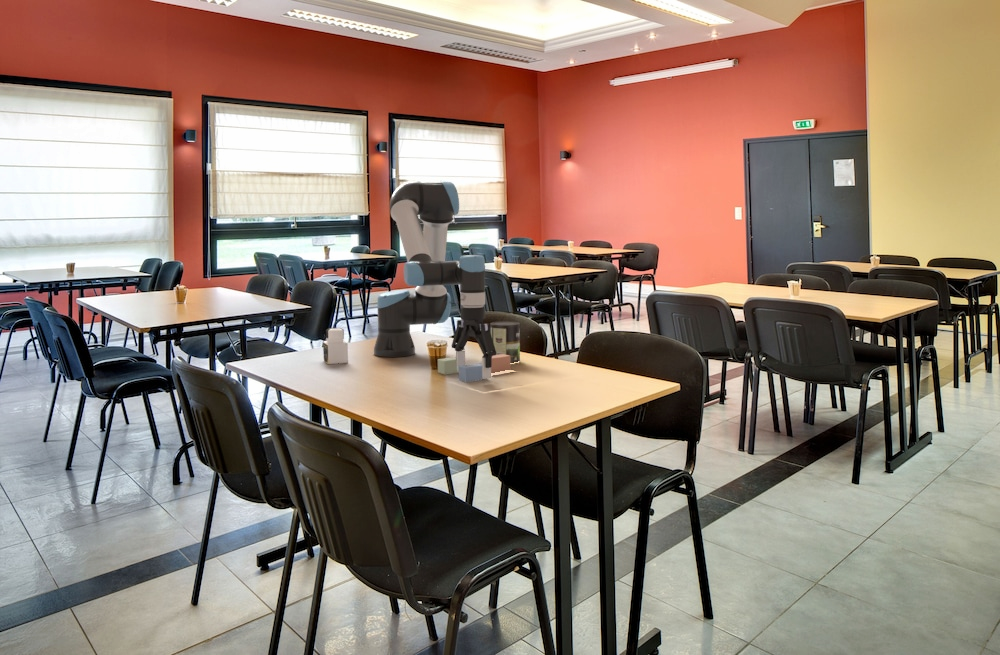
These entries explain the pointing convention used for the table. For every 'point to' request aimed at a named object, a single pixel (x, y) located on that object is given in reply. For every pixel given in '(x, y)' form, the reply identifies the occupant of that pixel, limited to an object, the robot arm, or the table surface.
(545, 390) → the table surface
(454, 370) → the green brick
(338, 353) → the medicine bottle
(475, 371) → the blue brick
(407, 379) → the table surface
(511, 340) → the coffee can
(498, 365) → the terracotta brick
